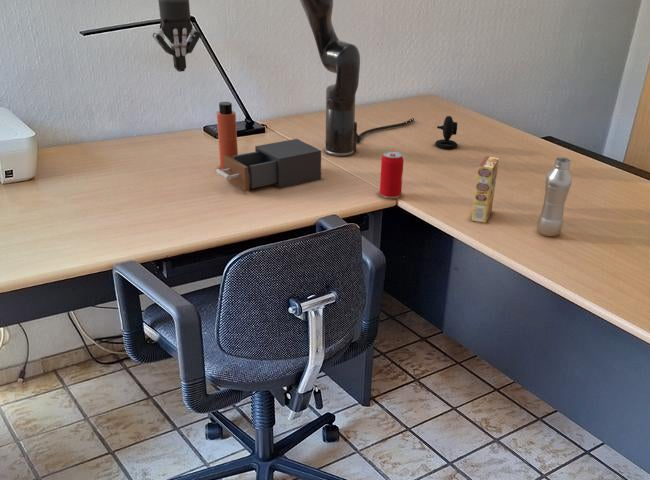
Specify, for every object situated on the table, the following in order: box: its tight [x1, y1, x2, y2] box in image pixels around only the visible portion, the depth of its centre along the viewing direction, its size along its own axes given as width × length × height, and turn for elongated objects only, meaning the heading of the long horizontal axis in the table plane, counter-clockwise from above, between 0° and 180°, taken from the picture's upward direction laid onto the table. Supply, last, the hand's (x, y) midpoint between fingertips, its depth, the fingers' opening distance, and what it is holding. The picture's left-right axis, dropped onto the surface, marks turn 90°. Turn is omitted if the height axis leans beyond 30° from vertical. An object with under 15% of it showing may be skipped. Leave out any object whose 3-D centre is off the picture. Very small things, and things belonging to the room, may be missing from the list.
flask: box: [215, 101, 239, 170], centre depth 212 cm, size 5×5×19 cm
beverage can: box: [379, 150, 405, 199], centre depth 204 cm, size 6×6×12 cm
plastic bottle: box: [536, 156, 573, 237], centre depth 186 cm, size 6×7×20 cm
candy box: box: [471, 155, 500, 224], centre depth 194 cm, size 9×4×15 cm, turn 163°
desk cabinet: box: [254, 138, 322, 189], centre depth 212 cm, size 15×13×9 cm
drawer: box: [215, 151, 278, 193], centre depth 205 cm, size 18×11×7 cm, turn 130°
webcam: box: [435, 115, 458, 150], centre depth 244 cm, size 8×8×10 cm
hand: (180, 70), depth 192 cm, fingers closed
